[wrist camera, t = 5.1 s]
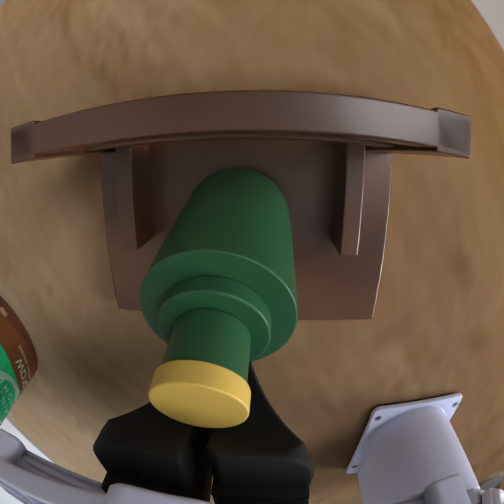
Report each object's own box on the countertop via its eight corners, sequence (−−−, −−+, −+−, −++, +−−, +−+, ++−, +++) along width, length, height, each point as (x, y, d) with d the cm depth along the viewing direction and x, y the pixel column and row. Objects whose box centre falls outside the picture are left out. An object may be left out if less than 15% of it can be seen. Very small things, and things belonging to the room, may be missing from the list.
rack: (369, 313, 15) (414, 404, 9) (122, 304, 16) (58, 379, 10) (388, 103, 12) (472, 74, 5) (106, 107, 13) (9, 92, 6)
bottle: (286, 259, 14) (291, 446, 7) (194, 256, 14) (136, 429, 7) (291, 168, 12) (318, 355, 4) (183, 168, 12) (67, 331, 5)
